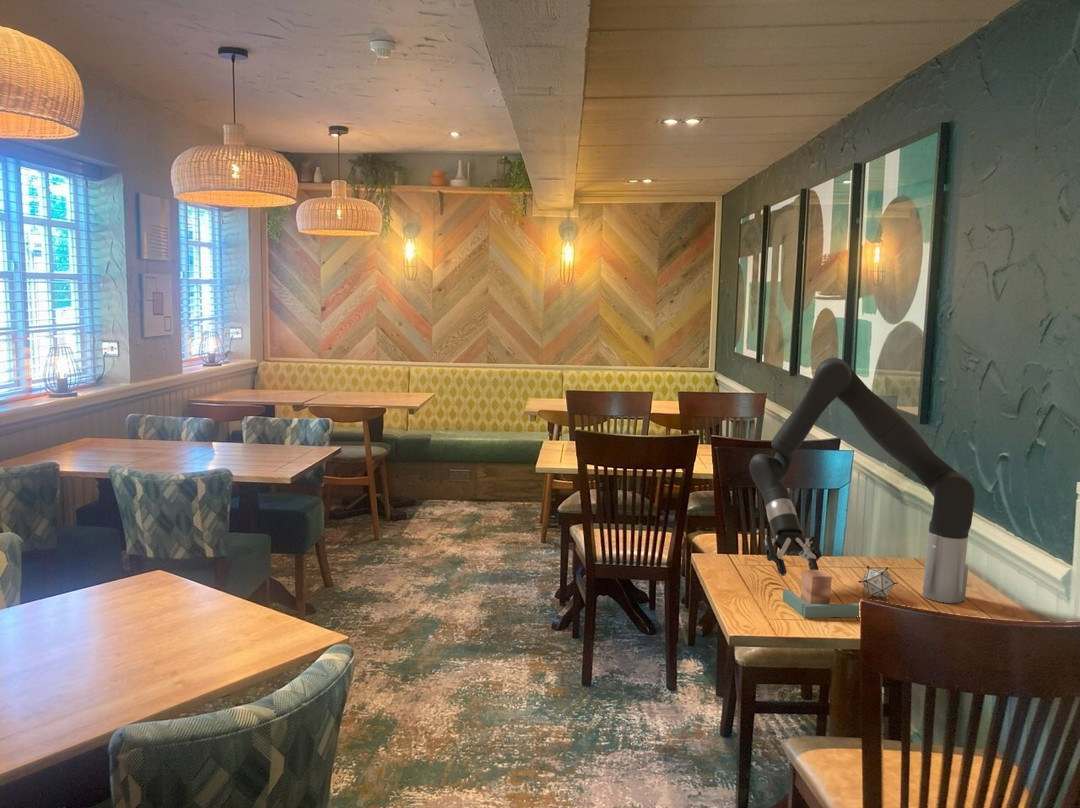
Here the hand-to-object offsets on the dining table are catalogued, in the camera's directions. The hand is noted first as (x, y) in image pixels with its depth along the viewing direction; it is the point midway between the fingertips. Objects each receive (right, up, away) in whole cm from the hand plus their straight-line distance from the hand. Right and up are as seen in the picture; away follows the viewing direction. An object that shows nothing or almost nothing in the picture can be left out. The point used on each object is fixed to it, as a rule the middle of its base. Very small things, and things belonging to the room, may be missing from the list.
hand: (799, 574), depth 204 cm
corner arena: (+4, -7, -7) cm, 10 cm away
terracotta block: (+1, -7, -8) cm, 10 cm away
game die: (+21, -7, +3) cm, 23 cm away
